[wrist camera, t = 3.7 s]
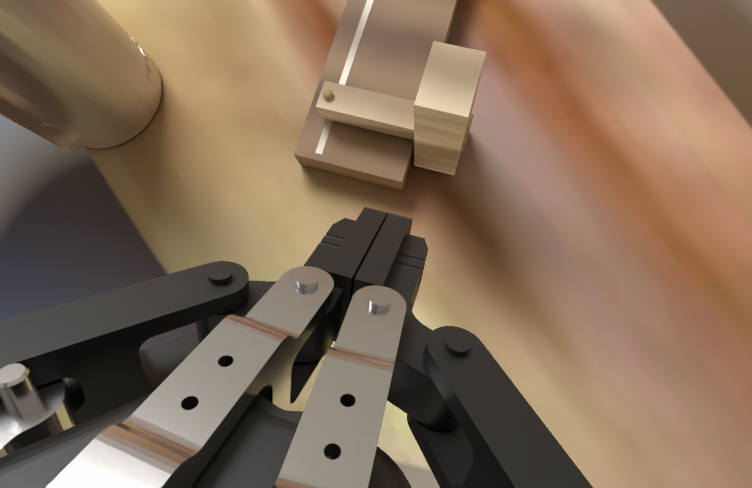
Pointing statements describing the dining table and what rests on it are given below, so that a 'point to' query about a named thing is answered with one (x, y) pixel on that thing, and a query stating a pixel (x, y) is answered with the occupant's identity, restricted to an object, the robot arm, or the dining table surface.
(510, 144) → the dining table surface
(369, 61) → the board
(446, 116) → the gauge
